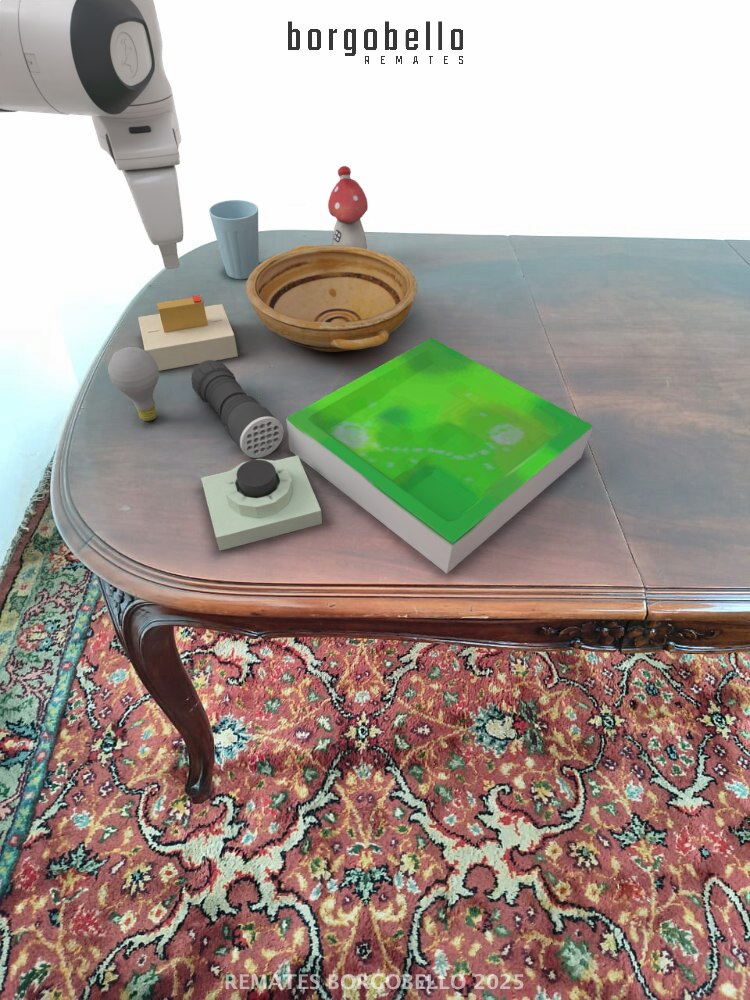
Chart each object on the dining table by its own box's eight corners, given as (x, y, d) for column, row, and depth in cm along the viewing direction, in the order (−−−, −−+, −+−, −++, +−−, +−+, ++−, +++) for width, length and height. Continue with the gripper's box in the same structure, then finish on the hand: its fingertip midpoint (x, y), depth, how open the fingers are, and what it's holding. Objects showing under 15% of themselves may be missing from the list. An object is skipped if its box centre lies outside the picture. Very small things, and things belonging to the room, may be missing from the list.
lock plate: (151, 372, 81) (144, 349, 78) (144, 338, 87) (137, 315, 84) (238, 356, 84) (234, 333, 82) (225, 324, 90) (221, 302, 87)
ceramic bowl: (449, 369, 83) (456, 318, 78) (283, 406, 77) (277, 353, 71) (371, 275, 102) (372, 228, 96) (232, 298, 95) (224, 249, 89)
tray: (428, 368, 83) (431, 337, 80) (581, 457, 72) (593, 426, 68) (289, 450, 71) (286, 417, 67) (446, 573, 59) (452, 542, 56)
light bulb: (159, 436, 72) (137, 368, 65) (118, 429, 73) (92, 360, 66) (179, 409, 76) (160, 341, 68) (140, 402, 77) (117, 334, 69)
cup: (269, 279, 100) (261, 216, 92) (223, 285, 98) (212, 221, 90) (261, 259, 105) (253, 198, 97) (217, 264, 103) (206, 202, 95)
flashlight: (191, 398, 78) (182, 363, 74) (228, 384, 80) (222, 349, 76) (245, 464, 69) (238, 429, 65) (285, 447, 71) (281, 411, 67)
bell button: (243, 502, 60) (240, 490, 59) (235, 476, 63) (232, 464, 62) (281, 492, 61) (279, 481, 60) (272, 467, 64) (270, 455, 63)
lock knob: (164, 332, 82) (157, 307, 79) (162, 325, 83) (156, 301, 80) (208, 325, 83) (203, 300, 80) (205, 318, 84) (200, 294, 81)
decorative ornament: (335, 251, 108) (333, 161, 97) (370, 254, 107) (372, 164, 96) (324, 275, 101) (321, 181, 90) (362, 278, 101) (363, 185, 90)
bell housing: (219, 551, 61) (212, 526, 58) (204, 491, 66) (197, 465, 63) (322, 523, 63) (320, 498, 60) (299, 468, 69) (296, 443, 66)
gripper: (101, 102, 71) (133, 220, 81) (114, 158, 58) (150, 290, 68) (155, 98, 72) (180, 214, 82) (179, 152, 59) (205, 282, 70)
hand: (167, 249), depth 75 cm, fingers open, 8 cm apart
